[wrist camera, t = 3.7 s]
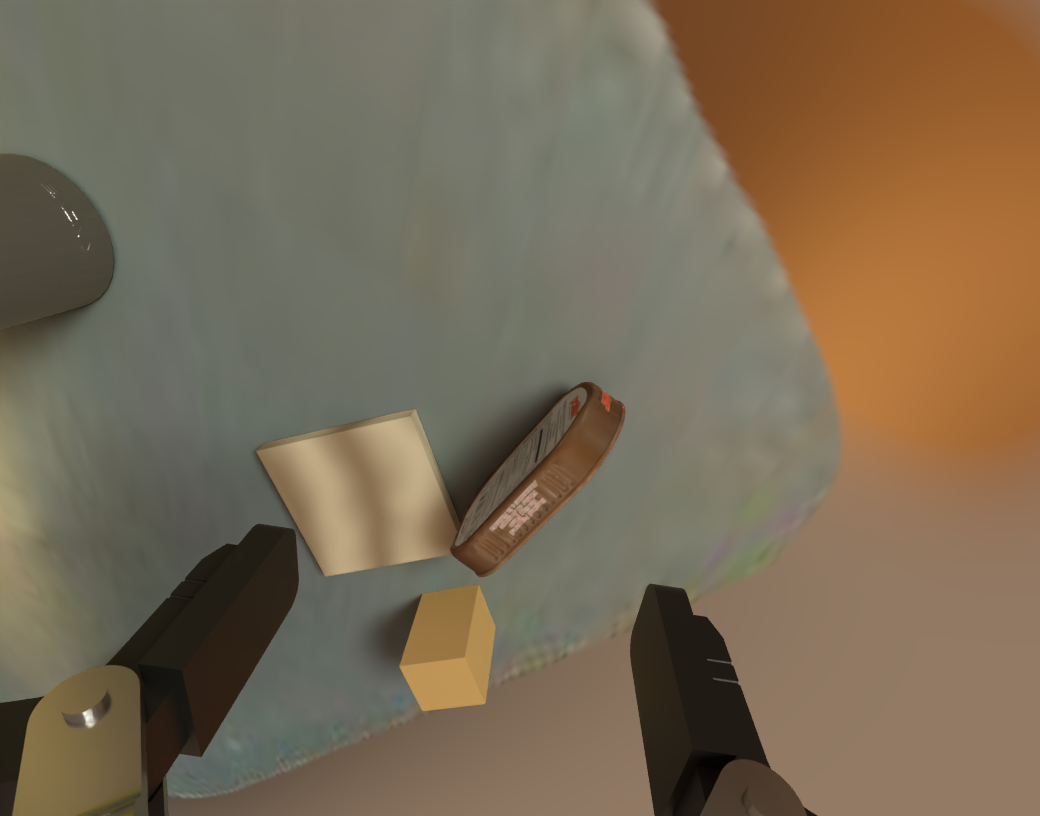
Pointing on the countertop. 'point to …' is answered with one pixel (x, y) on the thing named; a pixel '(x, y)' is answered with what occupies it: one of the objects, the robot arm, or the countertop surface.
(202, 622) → the robot arm
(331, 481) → the birch board
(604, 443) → the tin
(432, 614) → the ochre block
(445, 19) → the countertop surface
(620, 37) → the countertop surface
